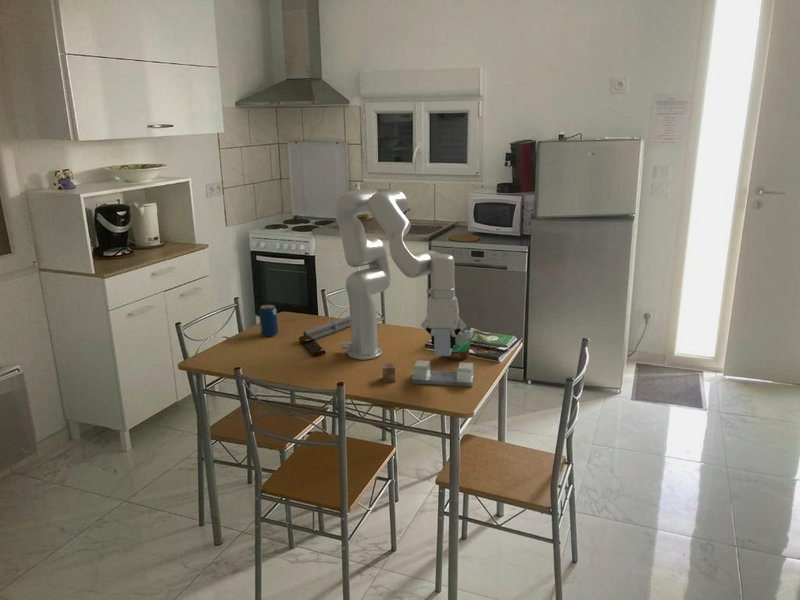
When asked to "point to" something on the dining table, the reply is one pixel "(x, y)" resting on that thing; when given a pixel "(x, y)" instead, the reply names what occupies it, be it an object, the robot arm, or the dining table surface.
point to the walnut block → (388, 372)
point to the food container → (461, 347)
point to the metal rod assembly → (331, 325)
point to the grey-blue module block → (442, 342)
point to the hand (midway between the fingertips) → (443, 346)
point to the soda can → (268, 320)
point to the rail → (443, 375)
